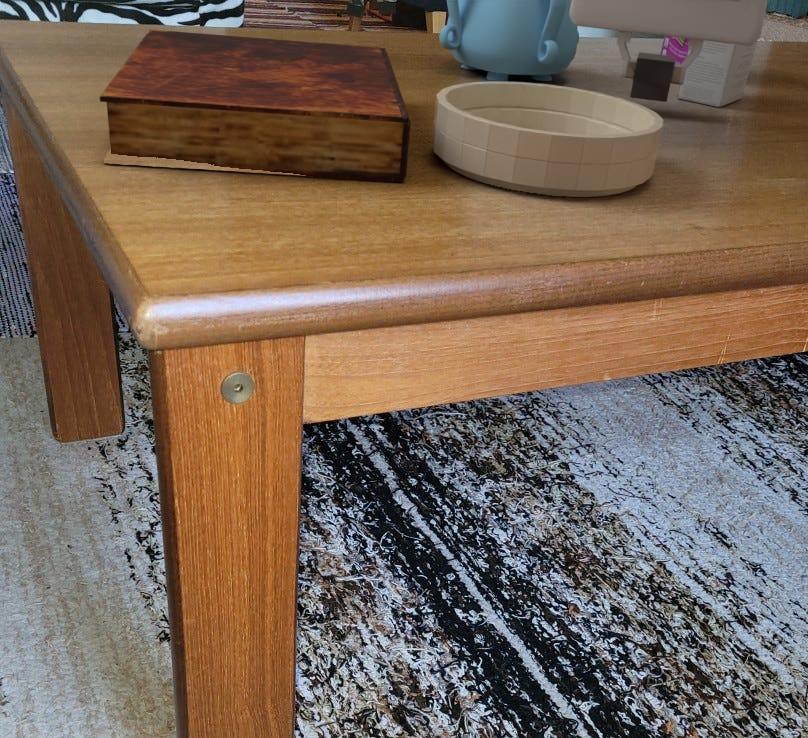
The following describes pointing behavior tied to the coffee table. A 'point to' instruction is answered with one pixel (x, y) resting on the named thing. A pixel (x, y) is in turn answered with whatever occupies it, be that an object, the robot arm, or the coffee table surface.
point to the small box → (718, 73)
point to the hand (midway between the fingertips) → (652, 80)
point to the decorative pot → (511, 36)
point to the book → (261, 106)
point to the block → (652, 77)
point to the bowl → (545, 138)
